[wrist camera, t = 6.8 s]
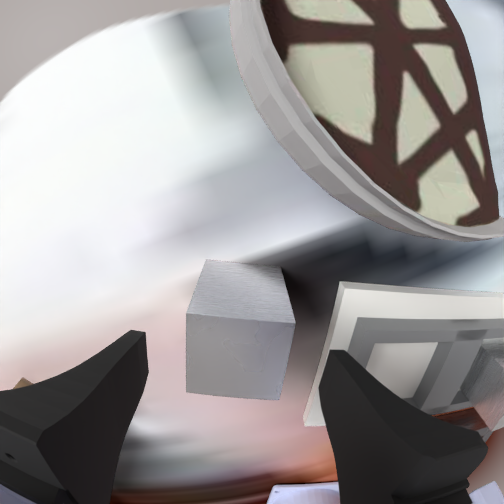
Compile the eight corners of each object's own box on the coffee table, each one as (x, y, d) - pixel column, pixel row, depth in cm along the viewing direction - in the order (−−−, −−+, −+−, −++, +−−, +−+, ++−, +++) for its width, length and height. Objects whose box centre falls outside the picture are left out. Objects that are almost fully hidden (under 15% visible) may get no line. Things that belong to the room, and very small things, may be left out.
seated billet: (486, 377, 19) (521, 419, 14) (455, 382, 19) (491, 431, 13) (505, 337, 18) (547, 377, 12) (476, 340, 18) (520, 386, 12)
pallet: (484, 396, 21) (495, 411, 19) (302, 416, 20) (307, 441, 18) (531, 294, 18) (549, 306, 16) (339, 281, 17) (353, 300, 15)
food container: (206, 16, 13) (165, -108, 3) (315, -9, 12) (372, -124, 3) (283, 228, 16) (329, 331, 7) (388, 194, 16) (521, 247, 6)
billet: (270, 329, 18) (279, 400, 12) (202, 323, 18) (186, 392, 12) (280, 266, 17) (296, 323, 11) (206, 259, 17) (186, 312, 11)
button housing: (452, 453, 24) (461, 470, 21) (396, 467, 24) (405, 487, 21) (486, 404, 22) (499, 422, 19) (430, 417, 22) (443, 439, 19)
